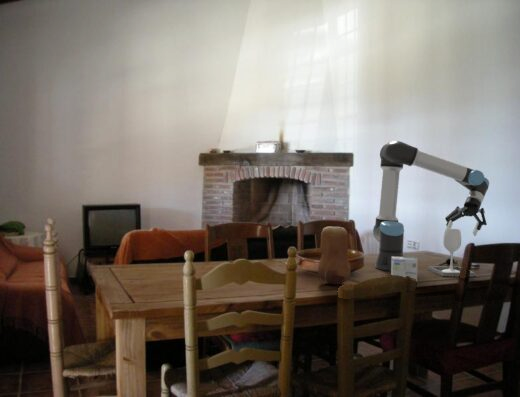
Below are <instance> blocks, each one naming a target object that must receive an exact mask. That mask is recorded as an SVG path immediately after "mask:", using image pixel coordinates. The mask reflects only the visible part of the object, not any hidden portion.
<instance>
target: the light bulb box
mask: <svg viewBox="0 0 520 397" xmlns="http://www.w3.org/2000/svg"><path fill="white" fill-rule="evenodd" d="M418 261H419V260H418V258H416V257H415V256H412V257H411V256H404V257H391V271H390V276H391V275H399V276H403V277H406V276H410V277H411V278H414V279H416V281H417V282H418V263H419V262H418Z"/></svg>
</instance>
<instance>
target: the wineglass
mask: <svg viewBox="0 0 520 397" xmlns="http://www.w3.org/2000/svg"><path fill="white" fill-rule="evenodd" d="M443 233H444V234H443V237H442V238H443V246H444V248H445V249H446V250H447V251H448V253H450V261H449V262H450V264H449V266H450V268H449V269H445V270H442V272H460V271H458V270H454V269H453V266H454V262H453V260H454V259H453V256H454V253H455V252H457V251H458V250H459V249H460V248H461V246H462V233H461V229H458V228H451V229H446V228H445V230H444V232H443Z"/></svg>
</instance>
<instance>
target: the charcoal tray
mask: <svg viewBox="0 0 520 397" xmlns="http://www.w3.org/2000/svg"><path fill="white" fill-rule="evenodd" d="M449 268H450V265H448V266H443V265H442V266H441V265H440V266H437V265H435V266H434V265H432V266H428V267H427V270H428V271H430V272H432V273H433V274H435V275H438V276H440V275H441V277H442V276H445V277H446V276H449V278H451V277H452V278H453V277H454V276H455V278H457V277H459V273H460V272H442V270H445V269H449ZM460 268H461V266H457V265H456V266H455V265H453V269H454V270H458V271H460ZM469 271H470V277H469V278H471V277H472V278H474V277H476V272H474V271H472V270H469ZM450 276H451V277H450ZM445 277H444V278H445ZM446 278H447V277H446Z"/></svg>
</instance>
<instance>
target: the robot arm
mask: <svg viewBox="0 0 520 397" xmlns="http://www.w3.org/2000/svg"><path fill="white" fill-rule="evenodd" d="M379 157H380V166H379V167H380V168H381V169H382V178H381V189H380V201H379V212H378V213H379V214H378V215H377V216H376V217H375V225H374V226H373V230H372V233H373V237H374V238H375V239H376V241H377V242H378V243H379V249H378V255H377V258H376V259H375V263H374V264H375V265H374V267H375V269H378V270H382V271H390V272H391V257H405V256H404V238H405V236H404V234H405V229H404V228H405V226H404V224H403V223H402V222H399V219H398V218H397V205H398V193H399V183H400V182H399V181H400V172H401V171H402V170H403V168H404V165H406V166H408V167H412V166H415V167H417V168H420V169H422V170H423V169H424V170H426V171H430V172H433V173H436V174H438V175H441V176H444V177H447V178H450V179H453V180H454V181H455V182H456V183H458V184H459V185H461V186H463V187H464V188H465V189H467V190H468V191H469V193H468V194H467V196H466V199H465V202H464V204H463V206H462V207H460V206H456V208H455V209H453V210H452V211H451V212H450V213H449V214H447V216H446V217H445V219H444V220H445V221H446V224H445V226H446V227H445V229H452V226H453V222H455V221H458V220H459V219H461V218H464V217H471V218H472V217H473V218H474V219H475V220H476V221H477V222H476V224H475V226H474V229H473V231H472V235H473V236H474V237H476V236H477V234H478V233H479V232H478V231H480V230H481V229H482V226H487V219H486V217H485V209H484V207H482V204H483V201H484V199H485V196H486V194H487V192H488V190H489V186H490V180H489V179H488V178H487V177H485V174H484V173H483V172H482V171H481V170H479V169H472V168H470V167H466V166H465V165H461V164H459V163H455V162H453V161H450V160H446V159H445V158H440V157H437V156H435V155H432V154H428V153H426V152H424V151H420V150H419V147H415V146H412V145H410V144H407V143H405V142H403V141H399V140H394V141H390V142H387V143H385V144H384V145H383V146H382V147H381V149H380V151H379ZM478 213H480V215H481V219H480V217H479V215H477V214H478Z"/></svg>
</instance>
